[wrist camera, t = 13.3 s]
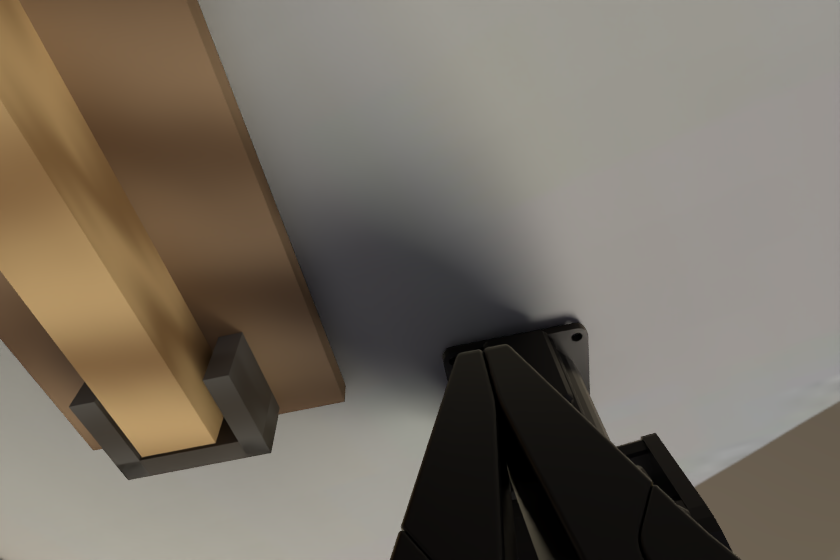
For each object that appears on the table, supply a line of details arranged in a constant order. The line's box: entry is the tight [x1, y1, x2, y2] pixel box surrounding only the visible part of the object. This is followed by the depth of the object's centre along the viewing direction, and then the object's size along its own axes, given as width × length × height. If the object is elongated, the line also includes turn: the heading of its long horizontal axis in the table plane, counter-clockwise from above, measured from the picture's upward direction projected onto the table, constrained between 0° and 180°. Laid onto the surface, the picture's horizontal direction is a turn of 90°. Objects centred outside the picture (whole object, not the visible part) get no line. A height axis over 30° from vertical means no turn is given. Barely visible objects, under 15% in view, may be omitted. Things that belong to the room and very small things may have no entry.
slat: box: [0, 0, 224, 457], centre depth 16 cm, size 22×3×3 cm, turn 11°
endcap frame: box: [0, 0, 346, 480], centre depth 17 cm, size 26×12×4 cm, turn 11°
